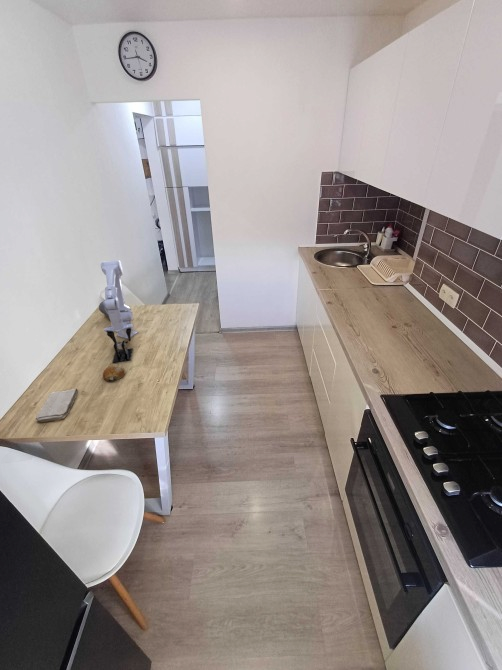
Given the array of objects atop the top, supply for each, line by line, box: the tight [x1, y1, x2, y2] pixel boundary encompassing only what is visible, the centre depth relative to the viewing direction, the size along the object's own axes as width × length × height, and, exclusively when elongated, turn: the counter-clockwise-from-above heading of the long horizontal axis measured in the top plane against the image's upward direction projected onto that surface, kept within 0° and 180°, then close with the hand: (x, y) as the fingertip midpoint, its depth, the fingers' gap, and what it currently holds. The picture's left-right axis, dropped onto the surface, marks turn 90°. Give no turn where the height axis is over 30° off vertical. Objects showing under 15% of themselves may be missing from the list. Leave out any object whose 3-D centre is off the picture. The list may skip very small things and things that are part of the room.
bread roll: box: [102, 363, 126, 383], centre depth 155 cm, size 10×10×8 cm
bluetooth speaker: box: [98, 300, 126, 318], centre depth 205 cm, size 23×9×10 cm, turn 49°
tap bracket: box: [112, 340, 134, 364], centre depth 168 cm, size 11×9×9 cm
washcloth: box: [35, 388, 79, 423], centre depth 139 cm, size 12×18×3 cm, turn 9°
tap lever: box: [117, 340, 129, 350], centre depth 170 cm, size 10×5×2 cm, turn 12°
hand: (122, 341), depth 174 cm, fingers open, 7 cm apart
